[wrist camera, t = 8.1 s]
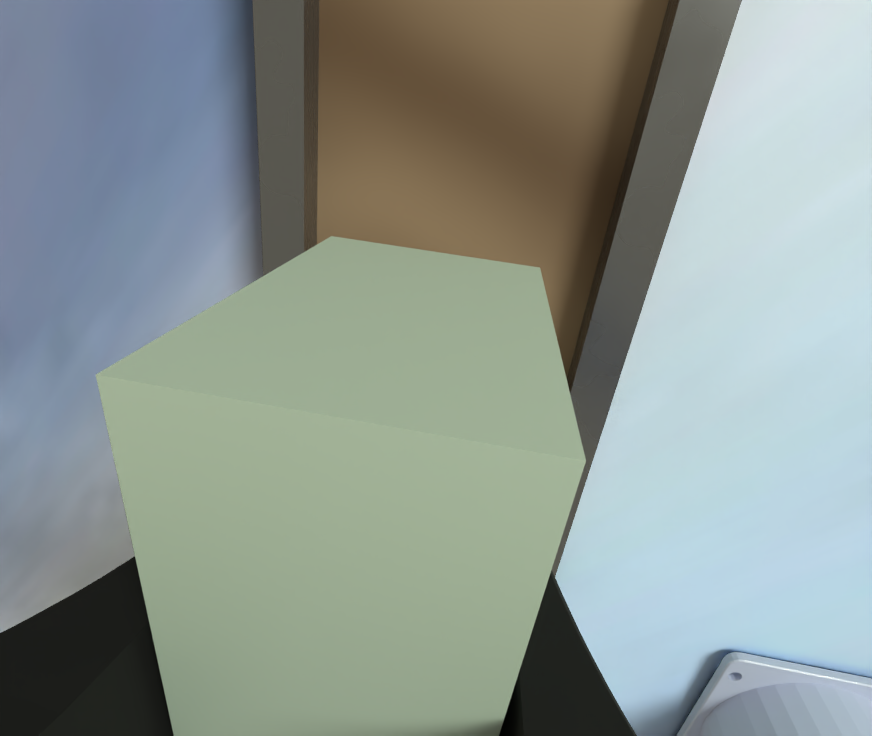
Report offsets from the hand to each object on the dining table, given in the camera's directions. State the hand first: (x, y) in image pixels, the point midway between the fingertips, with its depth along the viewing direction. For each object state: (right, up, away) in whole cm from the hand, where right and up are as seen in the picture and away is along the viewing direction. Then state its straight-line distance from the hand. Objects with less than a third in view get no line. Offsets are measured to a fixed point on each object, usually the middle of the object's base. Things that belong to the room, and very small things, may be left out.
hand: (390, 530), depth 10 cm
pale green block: (0, +1, +2) cm, 2 cm away
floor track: (+1, +3, +6) cm, 7 cm away
